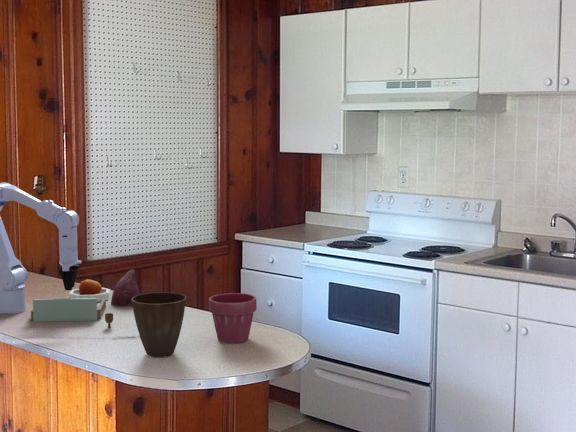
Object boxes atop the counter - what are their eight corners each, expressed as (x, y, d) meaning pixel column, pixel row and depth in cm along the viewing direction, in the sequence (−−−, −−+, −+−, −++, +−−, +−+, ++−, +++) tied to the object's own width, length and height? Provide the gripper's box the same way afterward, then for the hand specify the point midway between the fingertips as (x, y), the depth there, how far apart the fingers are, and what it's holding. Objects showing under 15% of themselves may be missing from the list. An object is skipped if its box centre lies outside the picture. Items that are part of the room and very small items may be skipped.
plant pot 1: (122, 353, 220) (120, 297, 218) (165, 343, 230) (165, 289, 228) (153, 365, 209) (152, 306, 207) (197, 354, 220) (196, 297, 218)
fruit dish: (67, 302, 280) (67, 295, 279) (73, 294, 293) (73, 287, 293) (107, 301, 281) (107, 295, 281) (111, 293, 295) (111, 286, 295)
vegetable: (142, 312, 280) (153, 271, 280) (133, 315, 270) (145, 273, 269) (114, 304, 281) (125, 263, 281) (105, 307, 271) (116, 265, 270)
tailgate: (33, 321, 249) (32, 300, 248) (34, 320, 250) (33, 299, 249) (96, 320, 251) (96, 298, 250) (97, 319, 252) (96, 297, 251)
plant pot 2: (203, 335, 238) (203, 294, 237) (248, 331, 243) (248, 290, 242) (216, 348, 225) (216, 304, 224) (262, 343, 230) (263, 301, 228)
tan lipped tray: (31, 324, 250) (30, 311, 250) (40, 312, 266) (40, 300, 266) (100, 322, 253) (100, 309, 252) (106, 310, 269) (105, 298, 268)
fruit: (71, 296, 283) (77, 275, 286) (81, 303, 290) (87, 283, 293) (91, 298, 280) (96, 277, 284) (101, 305, 287) (106, 284, 291)
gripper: (77, 251, 251) (79, 293, 253) (83, 244, 265) (85, 283, 267) (55, 251, 250) (56, 293, 252) (62, 244, 264) (63, 284, 266)
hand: (69, 288), depth 259 cm, fingers open, 4 cm apart
